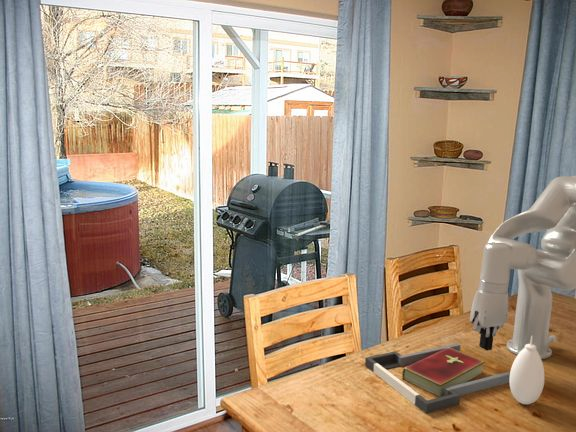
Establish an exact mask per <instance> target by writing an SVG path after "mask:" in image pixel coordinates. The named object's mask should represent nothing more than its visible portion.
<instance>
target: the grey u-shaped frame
mask: <svg viewBox="0 0 576 432" xmlns="http://www.w3.org/2000/svg"><path fill="white" fill-rule="evenodd" d="M448 347H450V348H452V349H455V350H457V351H460V352H461V344H459V343H454V344H449V345H445V346H440V347H435V348H432V349H425V350H422V351H416V352H412V353H408V354H407V353H406V354H401V353H399V352H397V351H395V350H394V351H391V352H385V353H381V354H375V355H372V356H366V357H365V358H364V359H365V361H364V366H365V367H366V368H367V369H368V370H370V371H371V372H372V373H373V374H375V375H376V376H377V377H379V378H380V379H381V380H382V381H384V382H385V383H386V384H388V385H389V386H391V387H392V389H394V390H395V391H397V392H398V393H399V394H400V395H402V396H403V398H405V399H406V400H408V401H410V402H411V403H412V404H413V405H414V406H416V407H417V408H418V409H420V410H421V411H422V412H423V413H424V414H429V413H432V412H433V413H434V412H436V411H437V412H438V411H441V410H443V409H444V410H445V409H448V408H451V407H454V406H458V405H460V400H461V399H460V398H461V396H465V395H468V394H472V393H477V392H480V391H484V390H486V389H491V388H495V387H498V386H502V385H506V384H510V383H509V379H510V371H505V372H502V373H498V374H494V375H491V376H490V375H489V376H486V377H481V378H480V379H475V380H471V381H470V380H469V381H466V382H465V383H463V384H459V385H455V386H451V387H447V388H445V390H444V394H443V395H441V396H440V397H439V396H437V397H435V398H432V399H426V398H425V397H423V396H422V395H421V394H420V393H418V392H417V391H416V390H415V389H412V388H411V387H410V386H409V385H407V384H406V383H405V382H403V381H402V380H401V379H399V378H398V377H397V376H395V375H394V374H393V373H391V372H390V371H389V369H390V370H391V369H394V368H399V367H403V366H409V365H411V364H413V363H416V362H418V361H420V360H422V359H424V358H426V357H428V356H431V355H433V354H435V353H437V352H439V351H441V350H443V349H446V348H448Z"/></svg>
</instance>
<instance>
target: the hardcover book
mask: <svg viewBox="0 0 576 432" xmlns="http://www.w3.org/2000/svg"><path fill="white" fill-rule="evenodd" d="M485 363H486V362H485V361H484V360H482V359H480V358H477V357H475V356H472V355H469V354H467V353H464V352H462V351H461V350H460V351H457V350H455V349H452V348H450V347H448V348H446V349H443V350H441V351H439V352H437V353H435V354H433V355H431V356H428V357H426V358H424V359H422V360H420V361H418V362H416V363H412V364H408V365H406V366H405V367H404V368H403V369H402V373H401V374H402V375H401V377H402V378H401V379H402V380H403V381H407V382H408V383H411V384H413V385H414V386H417V387H419V388H421V389H423V390H425V391H427V392H429V393H432V394H433V395H435V396H437V397H442V396H444V390H445V388H447V387H451V386H455V385H459V384H463V383H466V382H469V381H470V380H471V379H473V378H476V377H477V376H479V375H481V374H482V373H483V365H484V364H485Z"/></svg>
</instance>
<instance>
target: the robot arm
mask: <svg viewBox="0 0 576 432" xmlns="http://www.w3.org/2000/svg"><path fill="white" fill-rule="evenodd" d="M543 231H546V232H545V234H544V235H543V237H542V239H541V242H540V246H541V249H536V248H535V246H533V245H532V244H530V243H526V242H523V241H520V240H515V239H516V238H518V237H520V236H522V235H526V234H530V233H537V232H543ZM511 270H517V277H518V278H517V279H518V289H517V299H516V307H515V308H516V309H515V316H514V317H515V318H514V327H513V335H512V338H511V339H509V340H507V342H506V349H508V351H510V352H511V353H513V354H515V355H516V356H517V355H518V354H519V353H520V351H521V350H522V349H524V348H525V345H526V344H530V340H531V336H532V345H535V346H536V350H537V352H538V353H539V355H540V357H541V360H544V359H548V358H550V357H551V356H552V353H553V352H552V349H551V348H550V347H549V344H550V343H554V342H557V340H558V339H557V336H556V335H549V330H550V322H551V315H552V308H553V307H552V305H553V293H552V289H551V288H553V289H557V290H561V291H566V292H568V291H572V290H574V289H576V175H572V176H566V175H565V176H563V175H562V176H558V177H555V178H554V179H552V180H551V181H550V182H549V184H547V186H546V188H545V189H544V190H543V191H542V193H541V194H540V195H539V196H538V198H537V199H536V200H535V202H534V203H533V204H532V205H531V207H530V208H529V209H527V210H526V211H523V212H520V213H518V214H515V215H514V216H511V217H509V218H508V219H506V220H505V221H503V222H502V223H500V224H499V226H498V227H497V228H496V229H495V230H494V232H493V233H492V234H491V236H490V237H489V239H488V240H487V242H486V243H485V245H484V247H483V253H482V259H481V268H480V277H479V285H478V289H477V290H476V292H475V294H474V297H473V300H472V304H471V309H470V315H469V322H470V323H471V324H472V330H473V331H475V332H478V334H479V345H478V346H479V348H481V349H483V350H485V351H492V350H493V344H494V343H493V342H494V337H495V336H496V334H497V331H498V330H500V329H501V328H503V327H504V325H505V324H506V323H507V319H508V313H509V292H508V291H509V285H510V282H509V281H510V277H511V276H510V275H511Z"/></svg>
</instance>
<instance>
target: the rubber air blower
mask: <svg viewBox="0 0 576 432" xmlns="http://www.w3.org/2000/svg"><path fill="white" fill-rule="evenodd" d="M509 373H510V379H509V383H508V384H509V388H510V392H511V394H512V397H513V398H514V399H516V401H517V402H518V403H520V404H522V405H531V404H532V403H535V402H537V401H538V399H539V398H540V396H541V394H542V392H543V389H544V385H545V369H544V363H543V359H541V357H540V355H539V353H538V352H537V350H536V346H535V345H532V336H531V340H530V344H526V345H525V348H524V349H522V350H521V351H520V353H519V354H518V355H516V357H515V358H514V361H513V362H512V365H511V368H510V371H509Z"/></svg>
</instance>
